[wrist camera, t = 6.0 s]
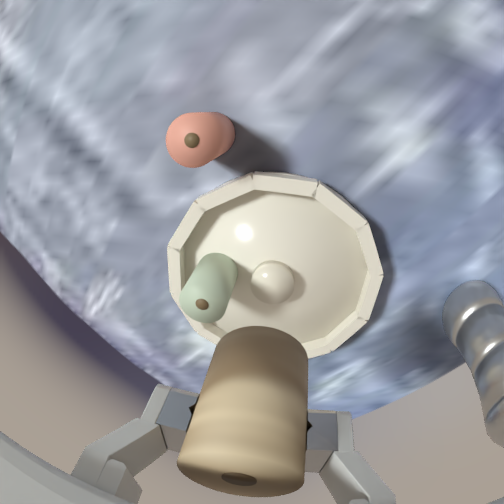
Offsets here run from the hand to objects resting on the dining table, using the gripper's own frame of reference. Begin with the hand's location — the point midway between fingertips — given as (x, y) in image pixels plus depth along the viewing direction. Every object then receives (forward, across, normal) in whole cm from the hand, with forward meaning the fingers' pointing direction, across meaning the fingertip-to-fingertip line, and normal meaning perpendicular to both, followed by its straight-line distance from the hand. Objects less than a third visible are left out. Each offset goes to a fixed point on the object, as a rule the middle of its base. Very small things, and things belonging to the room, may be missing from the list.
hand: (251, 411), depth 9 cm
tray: (+18, 0, +4) cm, 18 cm away
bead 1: (+18, +6, -7) cm, 20 cm away
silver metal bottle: (+18, -20, +5) cm, 27 cm away
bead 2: (+17, +5, +4) cm, 18 cm away
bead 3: (+2, 0, 0) cm, 2 cm away
